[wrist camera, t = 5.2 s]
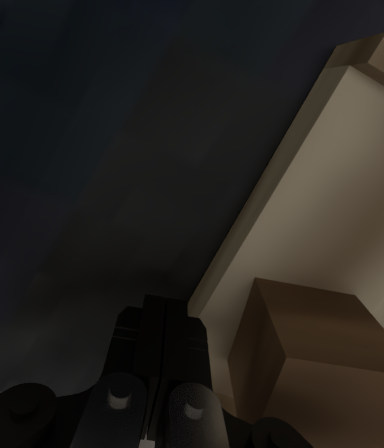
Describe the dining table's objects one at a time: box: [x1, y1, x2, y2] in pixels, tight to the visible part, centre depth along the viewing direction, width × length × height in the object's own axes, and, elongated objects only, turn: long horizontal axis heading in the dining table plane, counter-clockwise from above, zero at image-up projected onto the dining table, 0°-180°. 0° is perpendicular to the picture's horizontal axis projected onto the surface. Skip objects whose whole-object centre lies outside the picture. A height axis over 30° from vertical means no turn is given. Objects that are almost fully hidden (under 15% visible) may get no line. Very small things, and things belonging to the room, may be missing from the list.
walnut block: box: [227, 277, 384, 448], centre depth 11 cm, size 4×4×4 cm
